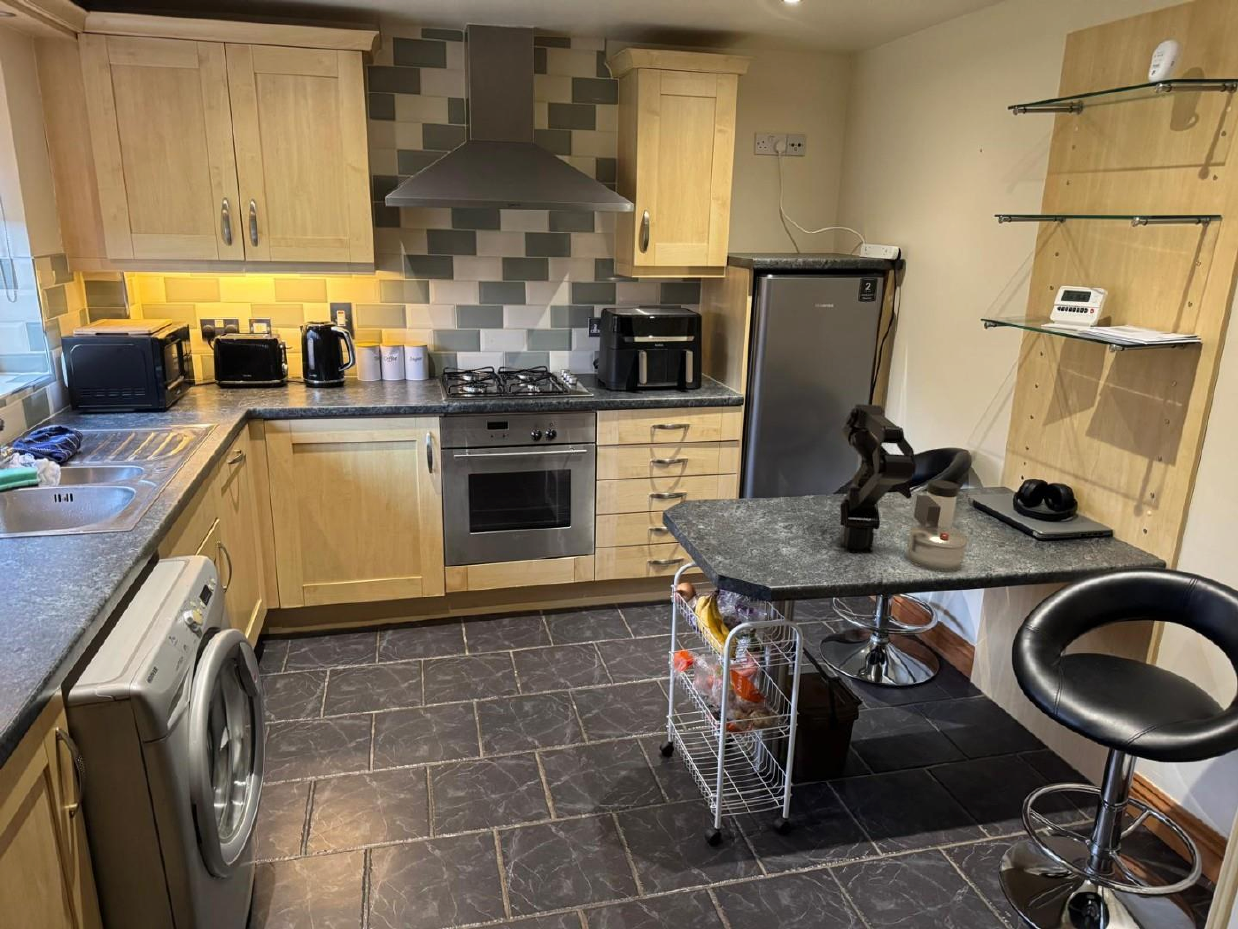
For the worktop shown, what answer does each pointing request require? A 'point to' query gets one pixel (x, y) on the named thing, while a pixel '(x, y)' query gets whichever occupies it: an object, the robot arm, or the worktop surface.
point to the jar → (943, 499)
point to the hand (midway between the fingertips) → (906, 493)
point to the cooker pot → (935, 556)
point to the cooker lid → (934, 526)
